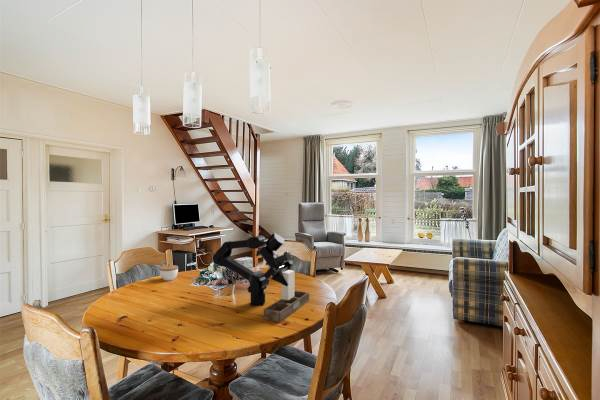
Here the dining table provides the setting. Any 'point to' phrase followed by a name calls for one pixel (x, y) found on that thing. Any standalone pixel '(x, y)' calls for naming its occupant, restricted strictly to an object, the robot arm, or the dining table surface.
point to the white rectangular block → (288, 290)
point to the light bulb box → (246, 262)
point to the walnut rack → (285, 307)
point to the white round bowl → (169, 272)
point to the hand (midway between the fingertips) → (290, 283)
